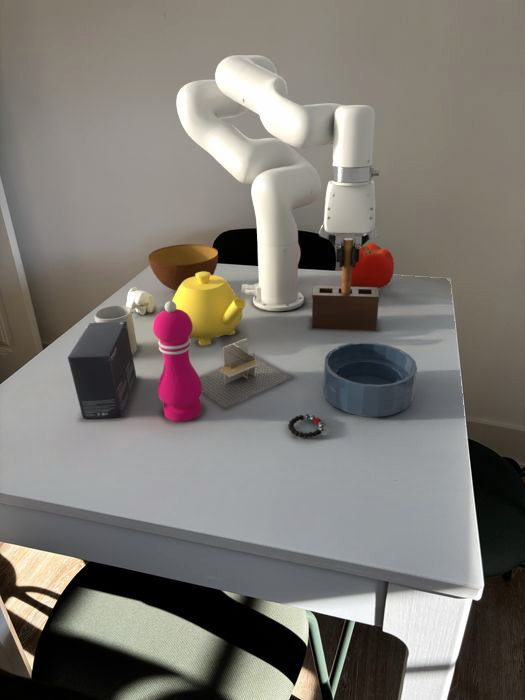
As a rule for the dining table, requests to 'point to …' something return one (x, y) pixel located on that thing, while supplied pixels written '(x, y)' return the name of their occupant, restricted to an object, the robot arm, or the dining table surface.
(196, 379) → the pepper mill
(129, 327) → the cup
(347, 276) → the stick
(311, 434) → the bracelet
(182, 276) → the bowl
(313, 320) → the rack
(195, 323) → the teapot
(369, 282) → the red bell pepper
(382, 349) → the mixing bowl
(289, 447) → the dining table surface
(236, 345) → the napkin holder
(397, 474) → the dining table surface
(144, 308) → the elephant figurine
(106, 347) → the small box
